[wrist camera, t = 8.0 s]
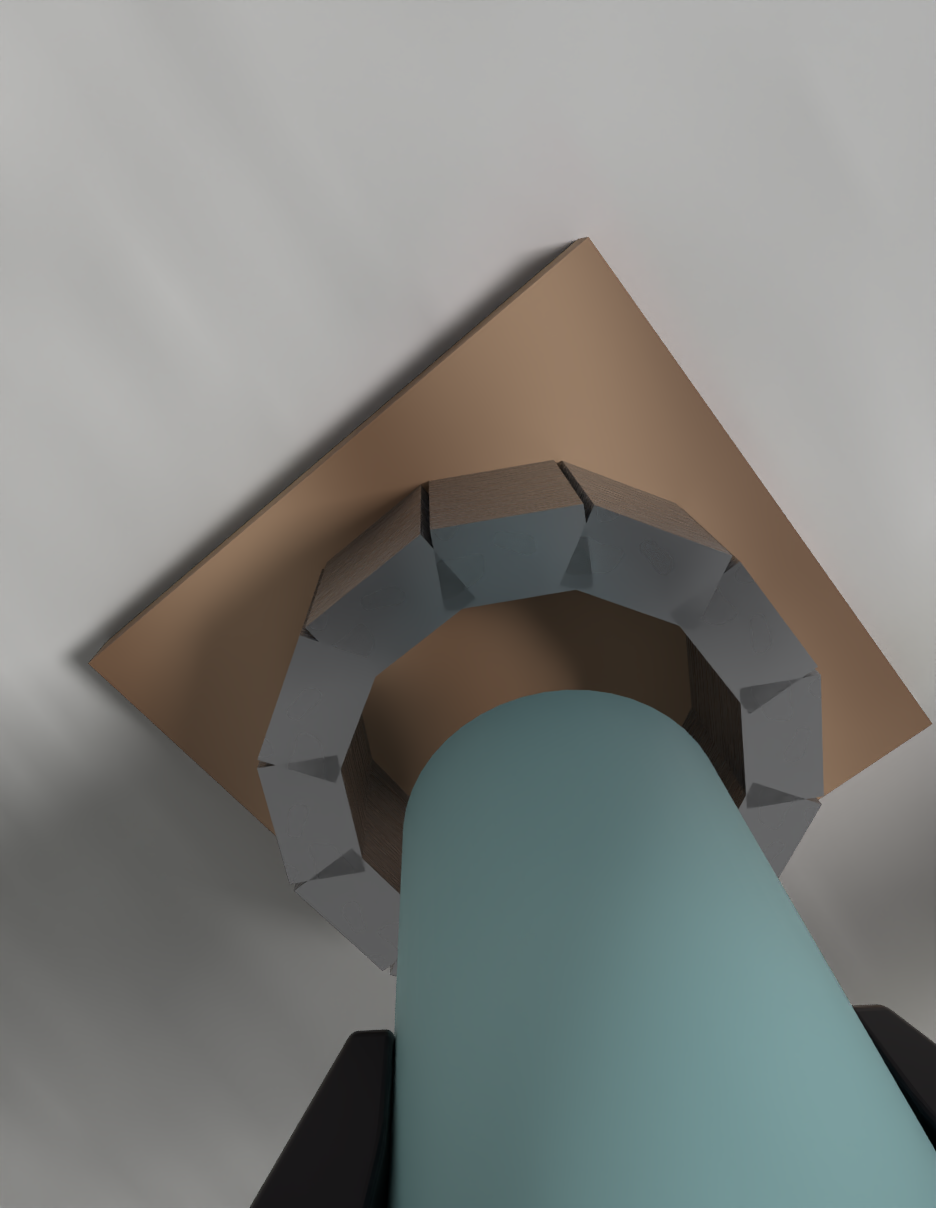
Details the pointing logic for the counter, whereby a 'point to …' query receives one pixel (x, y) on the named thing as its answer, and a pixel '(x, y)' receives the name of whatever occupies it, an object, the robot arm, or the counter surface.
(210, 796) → the counter surface
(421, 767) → the base board
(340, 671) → the collar
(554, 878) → the peg
